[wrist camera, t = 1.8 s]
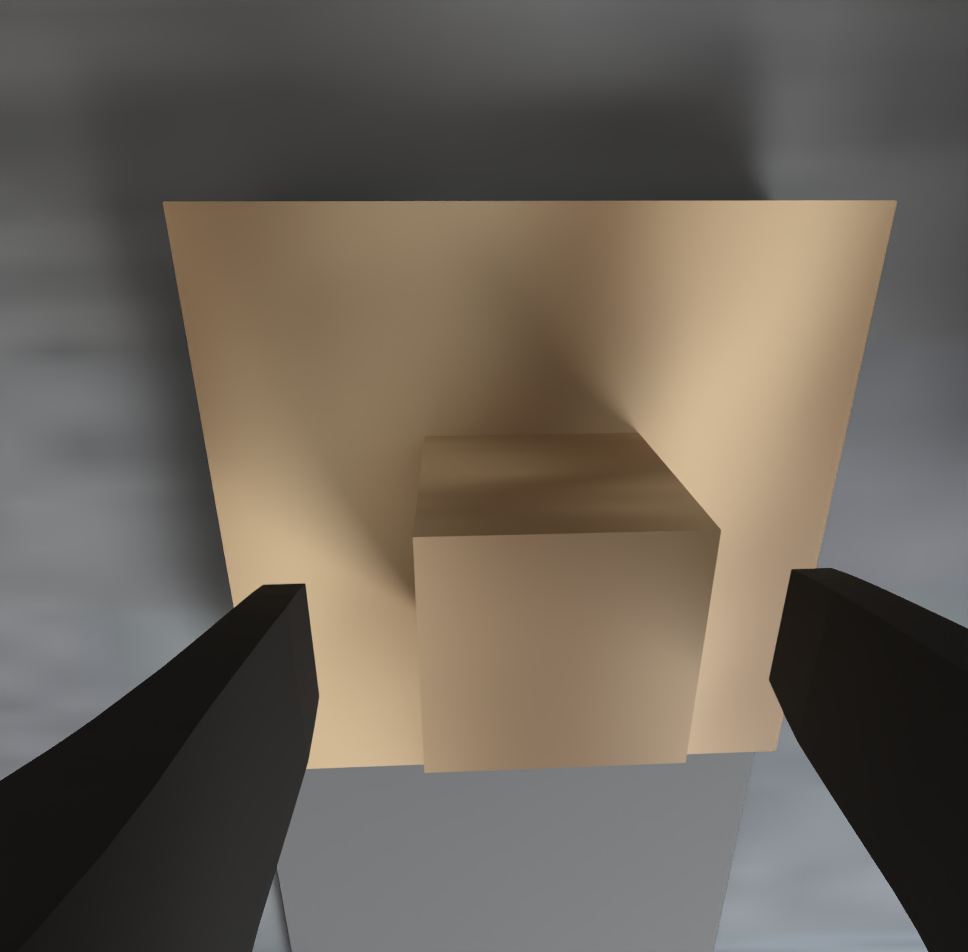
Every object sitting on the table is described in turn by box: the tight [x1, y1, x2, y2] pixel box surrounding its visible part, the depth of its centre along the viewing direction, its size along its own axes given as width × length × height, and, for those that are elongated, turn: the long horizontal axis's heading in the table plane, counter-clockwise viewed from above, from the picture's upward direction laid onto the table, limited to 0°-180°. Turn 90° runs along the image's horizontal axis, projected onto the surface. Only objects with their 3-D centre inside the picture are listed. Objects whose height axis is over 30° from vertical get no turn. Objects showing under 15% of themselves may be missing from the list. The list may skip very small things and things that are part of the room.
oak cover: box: [163, 200, 897, 773], centre depth 11 cm, size 12×12×5 cm
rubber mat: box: [277, 752, 755, 952], centre depth 20 cm, size 14×14×1 cm
